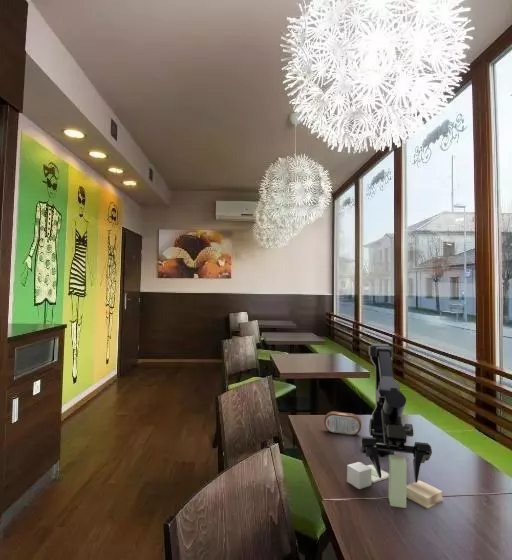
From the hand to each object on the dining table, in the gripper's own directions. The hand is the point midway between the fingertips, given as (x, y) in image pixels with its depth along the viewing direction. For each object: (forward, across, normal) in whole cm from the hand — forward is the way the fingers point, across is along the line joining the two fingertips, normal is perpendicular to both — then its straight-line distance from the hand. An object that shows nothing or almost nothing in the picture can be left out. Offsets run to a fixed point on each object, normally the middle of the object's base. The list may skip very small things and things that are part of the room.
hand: (398, 479), depth 98 cm
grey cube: (-2, -10, +12) cm, 15 cm away
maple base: (+1, +8, +9) cm, 12 cm away
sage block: (+4, 0, +6) cm, 7 cm away
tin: (-30, -14, +40) cm, 52 cm away
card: (-7, -5, +16) cm, 18 cm away
